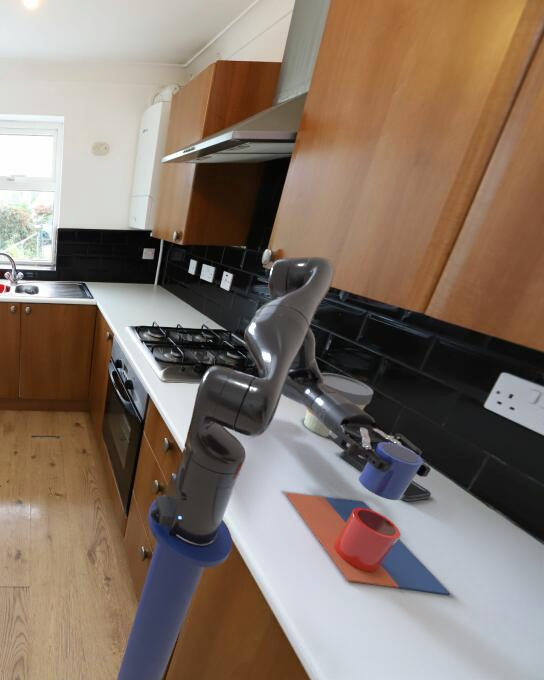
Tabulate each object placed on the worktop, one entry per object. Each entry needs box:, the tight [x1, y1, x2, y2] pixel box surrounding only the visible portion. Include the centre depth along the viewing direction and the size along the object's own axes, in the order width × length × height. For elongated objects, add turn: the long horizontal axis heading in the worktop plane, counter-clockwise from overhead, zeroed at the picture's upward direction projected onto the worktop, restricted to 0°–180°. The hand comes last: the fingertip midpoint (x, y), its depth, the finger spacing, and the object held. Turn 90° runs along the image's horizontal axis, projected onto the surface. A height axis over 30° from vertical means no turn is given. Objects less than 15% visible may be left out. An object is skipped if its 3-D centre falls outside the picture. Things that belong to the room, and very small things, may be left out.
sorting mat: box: [285, 492, 451, 596], centre depth 68 cm, size 16×19×1 cm
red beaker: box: [334, 508, 401, 572], centre depth 62 cm, size 6×6×8 cm
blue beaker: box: [358, 442, 424, 501], centre depth 67 cm, size 6×6×9 cm
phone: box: [339, 450, 432, 502], centre depth 84 cm, size 8×1×15 cm
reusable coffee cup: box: [303, 372, 374, 438], centre depth 98 cm, size 13×13×15 cm
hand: (406, 470), depth 64 cm, fingers closed on blue beaker, 6 cm apart
